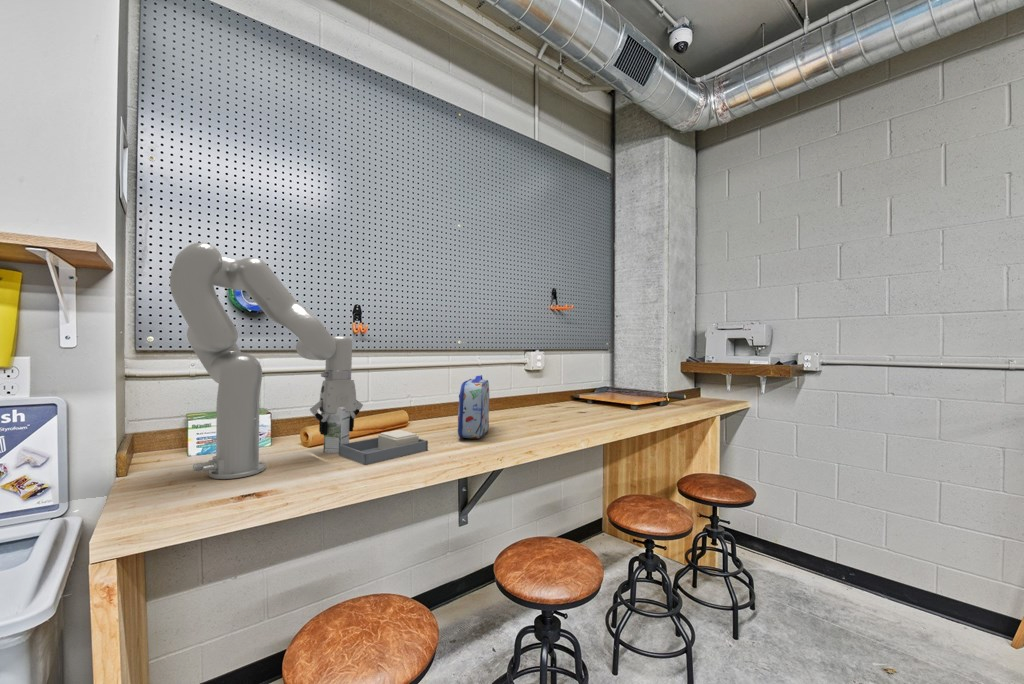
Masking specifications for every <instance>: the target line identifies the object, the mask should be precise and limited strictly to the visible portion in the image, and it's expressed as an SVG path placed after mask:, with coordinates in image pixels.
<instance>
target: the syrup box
mask: <svg viewBox="0 0 1024 684" xmlns="http://www.w3.org/2000/svg"><path fill="white" fill-rule="evenodd" d="M324 414H325V413H324ZM326 422H327V423H328V425H327V435H323V448H322V449H323V453H327V454H329V453H330V454H331V453H332V454H333V453H334V454H339V445H340V444H345V443H350V431H349V426H350V413H349V412H345V408H344V407H340V408H337V413H335V414H329V416H328V418H327V419H326Z"/></svg>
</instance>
